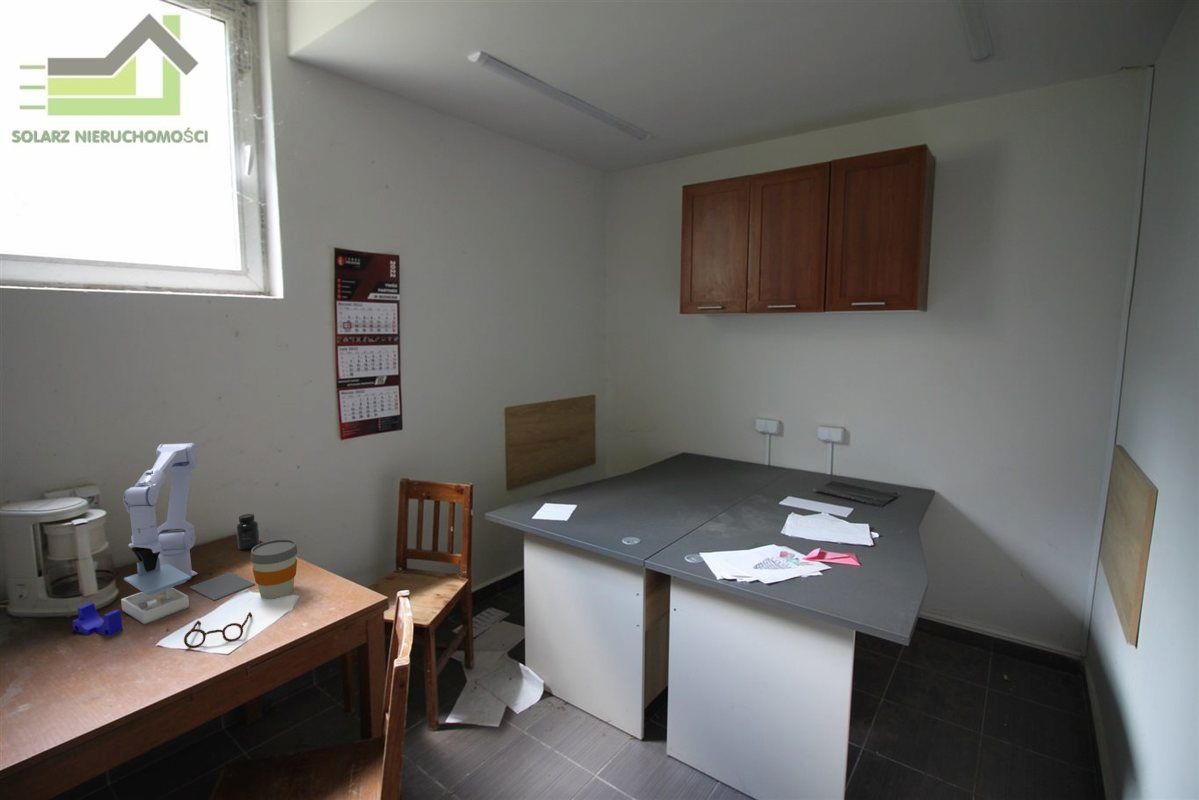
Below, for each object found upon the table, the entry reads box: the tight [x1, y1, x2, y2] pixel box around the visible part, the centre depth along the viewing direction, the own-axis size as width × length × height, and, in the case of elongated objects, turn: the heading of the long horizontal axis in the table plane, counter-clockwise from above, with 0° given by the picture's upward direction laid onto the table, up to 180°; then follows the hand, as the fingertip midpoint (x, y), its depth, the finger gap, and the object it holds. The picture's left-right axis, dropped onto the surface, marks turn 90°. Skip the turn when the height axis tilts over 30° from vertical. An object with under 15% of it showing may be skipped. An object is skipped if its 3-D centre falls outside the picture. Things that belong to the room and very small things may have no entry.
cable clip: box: [72, 602, 124, 637], centre depth 150 cm, size 12×4×6 cm, turn 73°
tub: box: [120, 587, 190, 625], centre depth 162 cm, size 14×11×4 cm
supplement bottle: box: [235, 513, 261, 551], centre depth 205 cm, size 7×7×12 cm
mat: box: [188, 571, 256, 602], centre depth 176 cm, size 15×12×1 cm
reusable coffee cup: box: [250, 538, 298, 600], centre depth 172 cm, size 12×13×15 cm
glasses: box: [183, 611, 253, 649], centre depth 151 cm, size 13×13×5 cm
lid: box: [123, 557, 192, 595], centre depth 161 cm, size 14×11×6 cm
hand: (149, 569), depth 164 cm, fingers closed on lid
